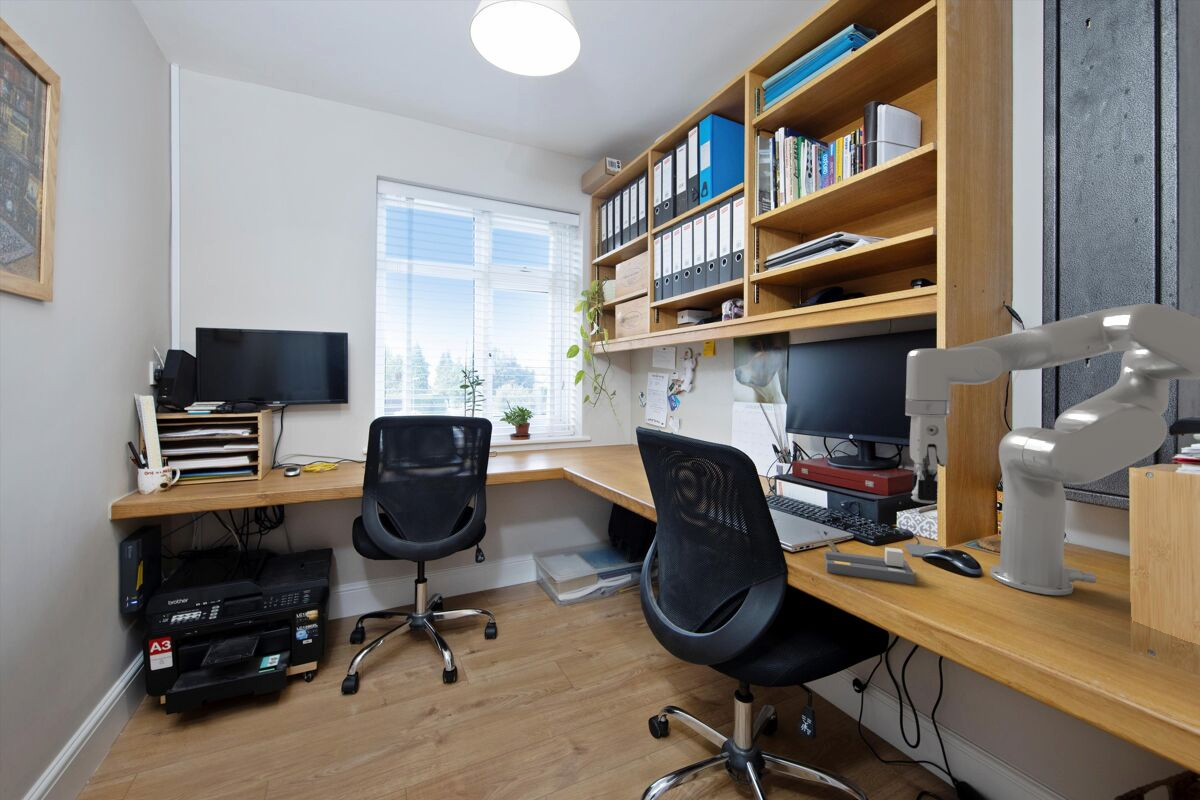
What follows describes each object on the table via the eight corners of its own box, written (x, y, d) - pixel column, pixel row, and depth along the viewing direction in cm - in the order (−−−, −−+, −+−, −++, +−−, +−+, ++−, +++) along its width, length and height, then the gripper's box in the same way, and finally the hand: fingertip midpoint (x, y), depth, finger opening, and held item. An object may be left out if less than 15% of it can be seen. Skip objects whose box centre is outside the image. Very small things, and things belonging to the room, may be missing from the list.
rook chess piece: (915, 497, 102) (916, 459, 102) (939, 501, 99) (941, 462, 99) (907, 500, 100) (908, 462, 99) (932, 504, 96) (934, 465, 96)
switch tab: (900, 562, 102) (901, 549, 102) (903, 567, 100) (903, 552, 100) (884, 560, 103) (885, 547, 103) (886, 564, 101) (887, 550, 101)
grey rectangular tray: (905, 569, 104) (906, 560, 104) (914, 584, 97) (914, 574, 96) (824, 559, 110) (824, 550, 110) (826, 572, 103) (827, 562, 102)
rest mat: (942, 549, 117) (942, 547, 117) (952, 560, 109) (952, 558, 109) (904, 544, 120) (904, 542, 120) (911, 555, 112) (911, 553, 112)
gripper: (961, 412, 89) (958, 509, 90) (938, 407, 105) (935, 490, 105) (914, 411, 92) (911, 505, 93) (898, 406, 108) (896, 487, 108)
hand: (924, 496), depth 99 cm, fingers closed on rook chess piece, 4 cm apart
